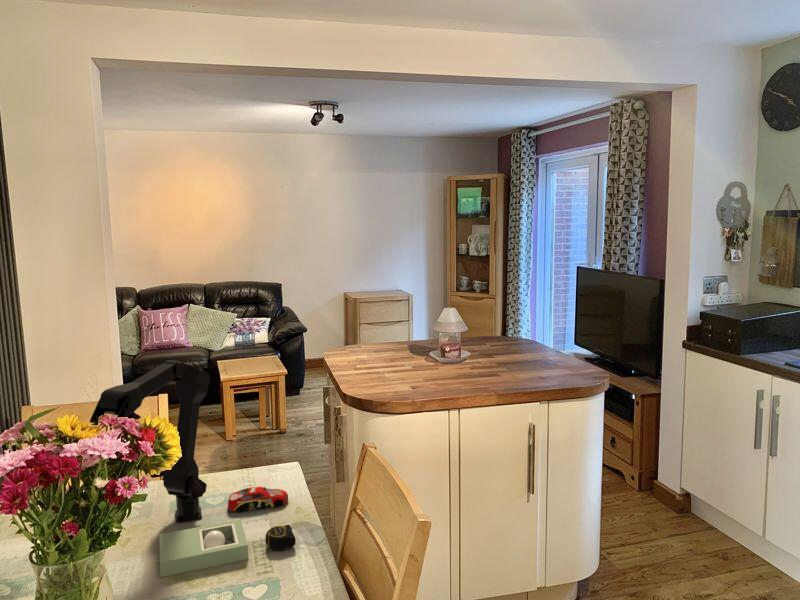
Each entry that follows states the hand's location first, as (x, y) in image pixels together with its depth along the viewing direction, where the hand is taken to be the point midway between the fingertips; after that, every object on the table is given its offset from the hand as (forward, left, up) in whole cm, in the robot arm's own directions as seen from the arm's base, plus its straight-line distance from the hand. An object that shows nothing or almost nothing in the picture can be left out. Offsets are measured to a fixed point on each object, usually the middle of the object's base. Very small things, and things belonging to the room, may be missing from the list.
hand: (125, 507), depth 140 cm
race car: (-14, +32, -12) cm, 37 cm away
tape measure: (+9, +35, -12) cm, 38 cm away
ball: (+6, +19, -10) cm, 22 cm away
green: (+6, +16, -12) cm, 21 cm away
